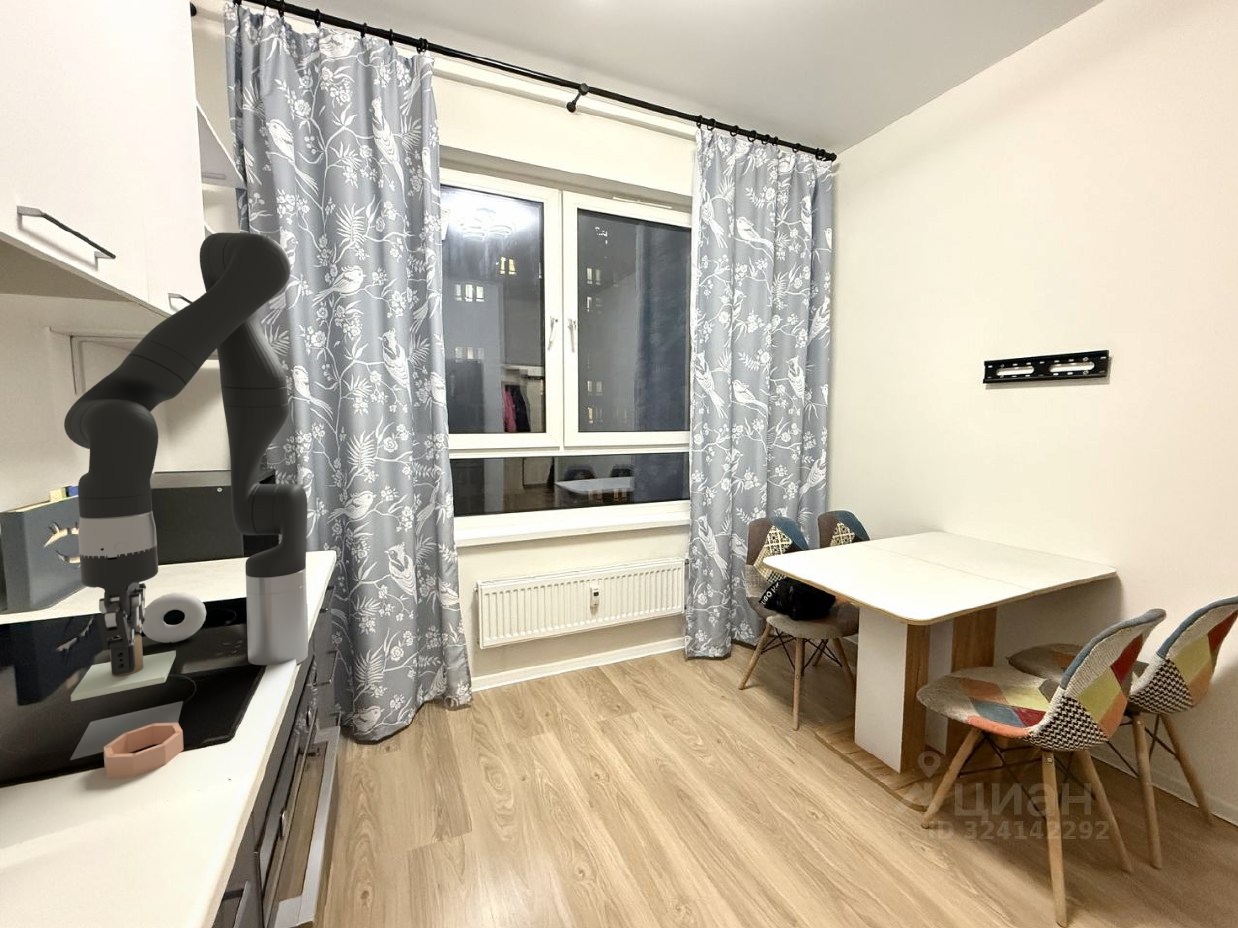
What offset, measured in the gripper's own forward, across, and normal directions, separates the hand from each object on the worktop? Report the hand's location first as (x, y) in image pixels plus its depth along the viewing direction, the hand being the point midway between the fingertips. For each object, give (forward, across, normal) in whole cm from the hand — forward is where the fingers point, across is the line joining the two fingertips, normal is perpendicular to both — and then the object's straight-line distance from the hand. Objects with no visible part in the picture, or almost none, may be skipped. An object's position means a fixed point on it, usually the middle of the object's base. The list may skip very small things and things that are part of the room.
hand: (127, 666), depth 70 cm
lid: (+1, 0, 0) cm, 1 cm away
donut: (+11, -36, 0) cm, 38 cm away
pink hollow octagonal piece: (+10, +11, +3) cm, 15 cm away
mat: (+10, +1, 0) cm, 10 cm away
